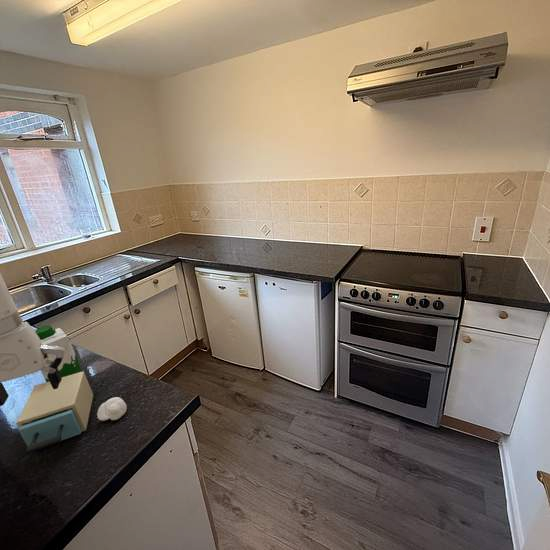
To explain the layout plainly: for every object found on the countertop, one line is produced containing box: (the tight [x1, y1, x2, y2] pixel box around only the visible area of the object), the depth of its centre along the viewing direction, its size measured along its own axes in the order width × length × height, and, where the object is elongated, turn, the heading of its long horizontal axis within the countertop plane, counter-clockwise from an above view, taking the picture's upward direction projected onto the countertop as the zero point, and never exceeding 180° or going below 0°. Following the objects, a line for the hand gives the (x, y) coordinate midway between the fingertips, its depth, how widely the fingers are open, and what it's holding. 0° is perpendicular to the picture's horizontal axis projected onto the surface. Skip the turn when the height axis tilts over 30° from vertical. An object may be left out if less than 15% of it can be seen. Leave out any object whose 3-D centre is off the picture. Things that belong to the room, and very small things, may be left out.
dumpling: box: [96, 396, 128, 422], centre depth 78 cm, size 7×5×4 cm
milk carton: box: [34, 325, 83, 382], centre depth 87 cm, size 9×9×20 cm
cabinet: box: [15, 370, 94, 433], centre depth 77 cm, size 14×12×9 cm
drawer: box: [18, 408, 83, 454], centre depth 73 cm, size 18×10×7 cm, turn 23°
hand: (31, 393), depth 65 cm, fingers open, 9 cm apart
